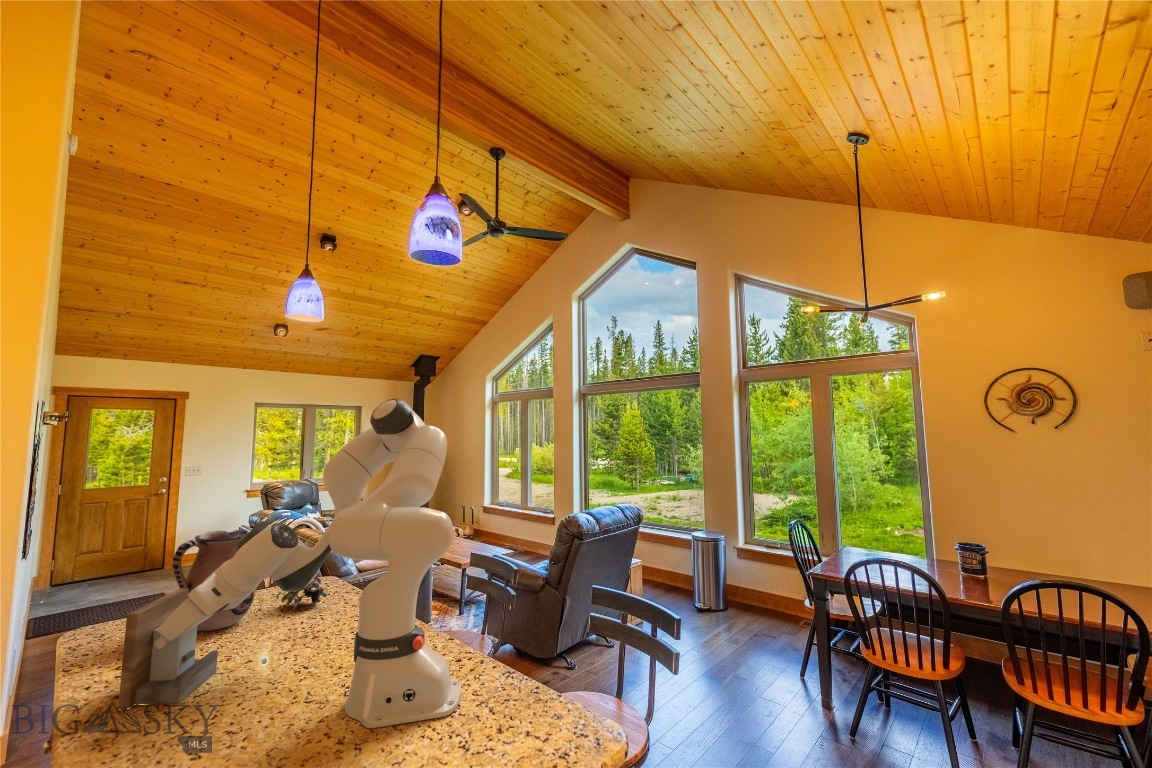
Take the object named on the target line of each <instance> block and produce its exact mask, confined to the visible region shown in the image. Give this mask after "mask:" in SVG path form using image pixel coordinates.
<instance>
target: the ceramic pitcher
mask: <svg viewBox="0 0 1152 768" xmlns="http://www.w3.org/2000/svg"><path fill="white" fill-rule="evenodd" d="M247 531H248V530H245V529H243V530H240V529H236V530H233V531H229V532H228V531H226V530H217V531H216V530H214V531H207V532H205V533H201V534H197V535H196V536H195V537H194V538H193V539H190V540H187V541H185V542H183V543H181V544H180V545H179V546H178V547H177V549H176V551H175V553H174V555H173V557H172V569H173V570H172V571H173V574H174V577H175V580H176V582H177V585H178V587H179V589H189V592H188V594H189V593H190V592H191V591H192V590H193V589H195V588H196V587H197V586H198V585H200V584H201V583H203V581H204V580H205V579H206V578H207V577H209V576H210V575H211V574H212V573H213V572H214V571H215V570H216V569H218V568H219V567H220V566H221V565H222V564H223V563H224V562H226V561H228V560H230V559H231V558H233V557H234V556H235V554H236V553H237V545H238V541H239V540H240V539H241V538H242V537H244V536H246V535H247V534H248V533H247ZM193 547H197V548H198V550H197V553H196V555H195V558H194V560H193V563H192V565H191V567H190V569H189V571H188V573H187V576H186V577H185V574H184V572H183V568H182V567H183V566H182V559H183V556H184V555H185V554H186V552H187V551H188V550H189V549H191V548H193ZM255 595H256V589H255V590H254V591H253V592H252V593H251V594H250V595H249V596H248V597H247V598H246V599H244V600H243V601H242V602H241V603H240V604H239V605H238V606H237V607H235V608H233V609H227V610H224V611H221V612H219V613H217V614H215V615H213V616H211V617H210V618H208V619H206V620H205V621H203V622H202V623H200V624H198V625H197V632H199V631H200V632H211V631H216V630H221V629H222V630H223V629H225V628H228V627H230V626H233V625H235V624H237V623H238V622H239V621H240V620H241V619H243V617H245V616H246V614H247V613H248V611H249V610H250V608H251V607H252V606H253V605H252V604H253V602H254V600H255ZM188 598H189V596H188Z"/></svg>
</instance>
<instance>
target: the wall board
mask: <svg viewBox="0 0 1152 768" xmlns="http://www.w3.org/2000/svg"><path fill="white" fill-rule="evenodd" d="M188 592H189V589H180V588H179V589H176V590H174V591H172V592H170V593H168V594H166V595H163V596H162V597H160V598H158V599H155V600H154V601H152V602H149V603H148V604H146V605H143V606H141V607H139V608H137V609H135V610H133V611H131V612H129V613H127V614H126V622H125V631H124V644H123V651H122V652H123V653H122V662H121V673H120V682H119V684H120V685H119V694H118V704H117V710H118V709H127V708H130V707H132V706H133V705H134V704H158V705H175V704H176V705H177V704H180V703H182V702H183V701H184V700H185V699H186V698H187V697H189V696H190V695H191V694H193V692H195V691H196V690H197V689H199V688H200V687H201V686H202V685H203V684H204V683H206V682H207V681H208V680H210V678H212V677H213V676H214V675H215V674H216V673H217V670H218V669H217V667H218V656H219V650H216V649H214V650H211V651H209V652H208V653H206V654H205V655H204V656H203V657H201V658H198V659H196V658H195V660H194V665H192V666H191V667H189V668H188V669H187V670H185V671H184V672H183V673H181V674H180V675H179V676H177V677H176V678H175V680H163V681H149V679H150V669H151V658H152V647H153V636H154V630H155V629H157V628H159V627H160V626H161V625H162V623H163V622H164V621H165V620H166V619H167V618H168V617H169V616H170V615H171V614H172V613H173V612H174V611H175V610H176V609H177V608H178V607H179V606H180V605H181V604H182V603H183V602H184V601H186V600H187V599H188ZM132 708H133V707H132Z"/></svg>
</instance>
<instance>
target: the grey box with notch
mask: <svg viewBox="0 0 1152 768" xmlns="http://www.w3.org/2000/svg"><path fill="white" fill-rule="evenodd" d="M158 629H159V628H157V629H155V630H154V636H153V647H152V658H151V669H150V679H149V681H163V680H175V678H176V677H177V676H179V675H180V674H181V673H183V672H184V671H185V670H187V669H188V668H189V667H191V666H192V665H194V660H195V659H196V658H195V656H196V649H197V648H196V647H197V634H198V630H197V626H195V627H194V628H192V629H191V630H189V631H187V632H186V633H184V634H183V635H181V636H179V637H178V638H176V639H175V640H173V641H172V642H169V643H168V644H167V645H166V646H164V647H163V648H161V649H158V648H157V647H156V646H155V645H154V643H155V642H156V641H157V640H158V639H159V638H160V637H161V635H160V634H159V633H158Z"/></svg>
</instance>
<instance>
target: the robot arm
mask: <svg viewBox="0 0 1152 768" xmlns="http://www.w3.org/2000/svg"><path fill="white" fill-rule="evenodd" d="M369 422H370V425H371V428H368V429H366V430H364V431H362V432H361V433H360V434H358V435H356V436H355V437H354V438H353V439H351V440H350V441H349V442H348V443H346V444H345V445H343V446H342V447H341V448H340V449H339V450H338V451H337V452H336V453H334V455H333V456H332V457H331V458H330V459H329V460H328V461H327V463H326V465H325V466H324V469H323V482H324V485H325V489H326V490H327V492H328V495H329V497H330V499H331V502H332V504H333V507H334V516H333V519H332V520H331V522H330V523H329V525H328V527H327V528H326V529H325V531H324V532H323V533H322V535H321V536H320V538H319V539H318V540H317V542H316V543H314V546H313V547H309V546H308V545H306V544H305V543H304V542H303V541H302V540H300V539H299V537H298V535H297V533H296V532H295V530H294V529H293V528H292V527H291V526H289V525H287V524H285V523H282V522H279V521H277V520H274V519H273V520H271V519H270V520H261V521H259V522H258V523H257V524H255V525H254V527H253V528H252V529H251V530H250V531H249V532H248V533H246V536H244V537H242V538H241V539H240V540H239V541H238V545H237V553H236V554H235V556H234V557H233V558H231V559H230V560H228V561H226V562H224V563H223V564H222V565H221V566H220V567H219V568H218V569H216V570H215V571H214V572H213V573H212V574H211V575H210V576H209V577H207V578H206V579H205V580H204V581H203V583H201V584H200V585H198V586H197V587H196V588H195V589H193V590H192V591H191V592H190V593H189V594H188V596H189V598H188V599H187V600H186V601H184V602H183V603H182V604H181V605H180V606H179V607H178V608H177V609H176V610H175V611H174V612H173V613H172V614H171V615H170V616H169V617H168V618H167V619H166V620H165V621H164V622H163V623H162V625H161V626H160V627H159V629H158V633H159V634H160V635H161V637H160V638H159V639H158V640H157V641H156V642H155V643H154V645H155V646H156V647H157V648H158V649H161V648H163V647H164V646H166V645H167V644H168V643H169V642H172V641H173V640H175V639H176V638H178V637H179V636H181V635H183V634H184V633H186V632H187V631H189V630H191V629H192V628H194V627H195V626H197V625H198V624H200V623H202V622H203V621H205V620H206V619H208V618H210V617H211V616H213V615H215V614H217V613H219V612H221V611H224V610H227V609H233V608H235V607H237V606H238V605H239V604H240V603H241V602H242V601H243V600H244V599H246V598H247V597H248V596H249V595H250V594H251V593H252V592H253V591H254V590H255V591H256V589H257V588H258V586H259V585H260V583H262V582H263V581H264V580H266V579H267V578H270V579H271V580H273V583H275V584H276V586H278V587H279V588H280V589H281V590H282V592H290V591H299V590H301V591H303V590H302V589H303V588H304V587H306V586H307V585H308V584H309V583H310V582H311V581H314V578H315V576H317V575H318V573H319V571H320V569H321V567H322V565H323V564H324V562H325V561H326V559H327V558H328V557H329V555H330V554H331V552H332V553H334V554H335V555H337V556H339V557H344V558H347V559H351V560H356V561H377V562H378V561H380V562H388V569H387V572H386V574H385V575H382V576H380V577H377V578H376V579H375V580H373V581H371V582H370V583H368V584H367V585H366V587H364V588H363V590H362V592H361V593H360V596H359V602H358V603H359V606H358V621H357V631H356V632H355V636H354V642H353V662H354V668H353V674H352V678H351V679H352V680H351V684H350V688H349V693H348V695H347V698H346V702H345V704H344V712H345V714H347V716H349V717H351V718H352V719H355V720H356V721H358V722H359V721H360V722H361V725H363V726H364V728H366V729H375V728H382V727H387V726H394V725H400V724H406V723H412V722H419V721H424V720H431V719H438V718H442V717H448V716H449V715H451V714H452V713H453V712H454V711H455V710H456V709H457V707H458V706H459V704H460V701H461V695H462V692H461V691H462V690H461V689H462V687H461V684H460V682H459V681H458V679H457V678H456V677H451V672H450V667H449V663H448V661H447V659H446V658H445V657H444V656H443V655H441V654H439V653H438V652H436V651H435V650H433V649H432V648H430V646H428V645H427V644H425V636H426V635H425V626H422V628H421V627H419V625H417V624H416V613H417V612H416V611H417V604H418V603H417V602H418V595H419V589H420V587H421V586H420V585H421V583H422V580H423V578H424V576H425V575H426V573H427V572H428V571H429V569H430V568H431V567H432V566H433V565H434V564H435V563H436V562H438V561H439V560H440V559H441V558H443V557H444V556H445V555H446V554H447V553H448V551H449V550H450V547H451V546H452V543H453V540H454V533H455V532H454V531H455V530H454V525H453V522H452V520H451V518H450V517H449V515H448V514H447V512H444V511H441V510H437V509H433V508H428V507H422V506H423V505H425V504H427V503H428V502H429V501H430V500H431V499H432V498H433V496H434V494H435V492H436V490H437V487H438V483H439V480H440V477H441V475H442V472H443V468H444V465H445V462H446V458H447V450H448V439H447V436H446V433H444V432H443V431H442V430H441V429H440V428H439V427H437V426H434V425H429V424H427V425H426V423H425V422H424V421H423V419H422V418H421V417H420V416H419V415H418V414H417V413H416V412H415V411H414V410H413V408H412V407H411V405H410V404H408V403H407V401H404V400H403V399H400V398H391V399H387V400H385V401H383V402H382V403H380V404H378V406H377V407H376V408H375V409H374V410H373V412H372V413H371V416H370V420H369ZM392 462H393V464H392V466H391V469H390V470H389V472H388V474H387V476H386V477H385V479H384V480H383V482H382V483H381V484H379V486H378V487H377V488H375V490H374V491H372V492H371V493H370V494H368V495H367V496H366V497H365V498H363V494H364V491H365V488H366V487H367V485H368V484H369V482H370V481H371V480H372V479H373V478H374V477H375V476H376V475H377V474H378V473H379V472H380V470H381V469H382V468H384V467H385V466H386V465H387V464H389V463H392ZM299 592H300V591H299ZM447 715H448V716H447Z"/></svg>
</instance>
